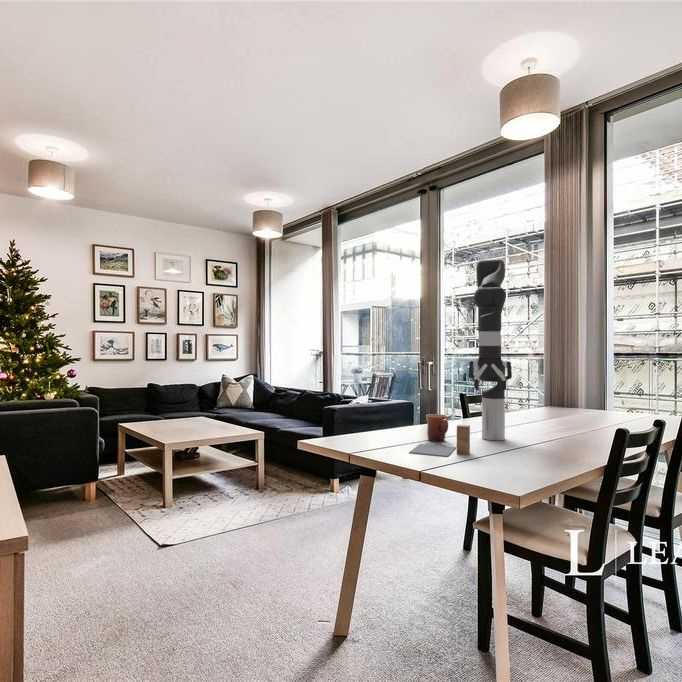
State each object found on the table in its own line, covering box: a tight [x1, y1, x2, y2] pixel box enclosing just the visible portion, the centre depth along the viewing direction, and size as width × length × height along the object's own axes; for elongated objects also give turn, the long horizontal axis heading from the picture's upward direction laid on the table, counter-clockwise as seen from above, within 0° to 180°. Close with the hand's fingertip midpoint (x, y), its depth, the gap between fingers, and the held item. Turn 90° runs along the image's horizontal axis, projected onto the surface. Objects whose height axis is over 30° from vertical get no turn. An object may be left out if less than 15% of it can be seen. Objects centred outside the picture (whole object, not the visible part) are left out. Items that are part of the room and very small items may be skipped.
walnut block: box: [456, 424, 471, 456], centre depth 169 cm, size 4×4×10 cm
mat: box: [408, 443, 457, 458], centre depth 173 cm, size 16×14×1 cm
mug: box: [425, 413, 449, 443], centre depth 191 cm, size 12×9×10 cm
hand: (490, 390), depth 163 cm, fingers open, 8 cm apart
